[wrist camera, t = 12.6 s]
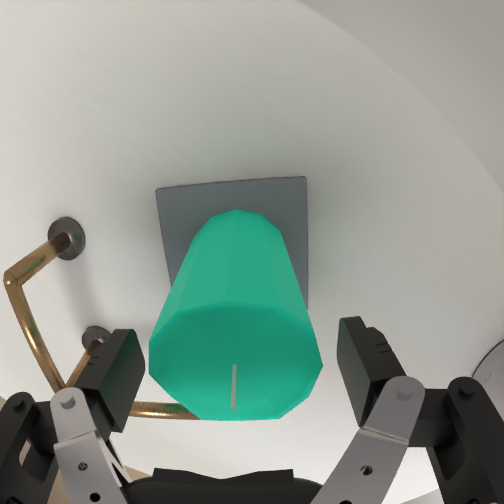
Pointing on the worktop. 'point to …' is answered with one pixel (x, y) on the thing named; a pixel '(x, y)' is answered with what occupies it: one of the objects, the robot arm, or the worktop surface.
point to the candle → (235, 325)
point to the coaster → (242, 198)
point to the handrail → (67, 248)
